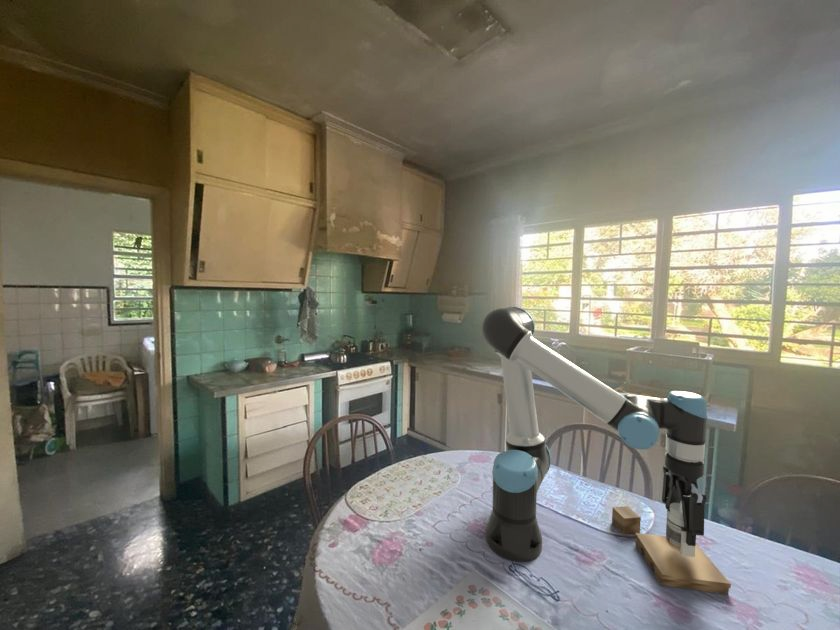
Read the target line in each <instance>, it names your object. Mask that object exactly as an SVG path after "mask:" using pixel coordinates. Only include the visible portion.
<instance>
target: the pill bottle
mask: <svg viewBox="0 0 840 630" xmlns="http://www.w3.org/2000/svg"><path fill="white" fill-rule="evenodd" d="M666 523H667V526H666V525H665V528H666V529H665V536H666V541H667V543H668V544H669V546H671V547H672V548H673V549H675V550H677V551H679V552H680V549H681V527H682V528H684V521H683V512H682V503H681V502H680V503H671V504H670V512H668V514H667V513H666Z"/></svg>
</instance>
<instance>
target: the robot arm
mask: <svg viewBox="0 0 840 630" xmlns="http://www.w3.org/2000/svg"><path fill="white" fill-rule="evenodd" d="M535 327H536V326H535V319H534V318H533V316H532V314H530V312H528V311H527V310H526V309H524V308H520V307H517V306H508V307H504V308H496V309H493V310H491V311H490V312H488V313H487V314H486V315H485V317H484V318H483V321H482V324H481V334H482V336H483V339H484V341H485V342H486V344H488V345H489V346H490V347H491V348H492V349H493V350H494V353H495V354H497V356H499V357H500V361H501V369H502V371H501V372H502V379H503V386H504V392H505V393H504V394H505V402H506V403H505V405H506V409H507V410H506V411H507V420H508V427H509V433H508V434H507V435H506V436H505V443H506V451H505V450H504V451H500V452H499V453H498V454H497V455H496V456H495V458H494V460H493V465H492V510H491V512H490V515H489V518H488V520H487V523H486V526H485V540H486V543H487V545H488V547H489V548H490V549H491V550H492V551H493V552H494V553H495V554H497V555H498V556H500V557H501V558H505V559H506V560H510V561H513V562H529V561H533V560H535V559H536V558H538V557H539V556H540V555H541V553H542V550H543V536H542V533H541V530H540V526H539V523H538V520H537V494H538V491H539V489H540V487H541V485H542V483H543V481H544V479H545V478H546V475H547V474H548V472H549V471H550V470H549V469H550V467H551V463H552V462H551V460H552V457H551V452H550V449H549V447H548V445H547V444H546V439H545V436H544V435H543V434H542V433H541V432H540V430H539V424H538V416H537V408H536V400H535V391H534V390H535V389H534V383H533V375H532V373H534V374H535V375H537V377H539V378H541V379H543V380H544V381H545V382H547V383H548V384H549V385H551V386H552V387H554V388H555V389H556V390H558V391H560V392H561V393H562V394H563V395H565V396H567V397H568V398H569V399H571V400H573V402H575V403H577V404H578V405H579V406H581V407H582V408H584V409H585V410H587V411H588V412H589V413H591V414H592V415H594V416H595V417H596V418H598V419H599V420H601V421H603V422H604V424H607V425H608V426H609V427H610V428H611V429H613V430H614V431H616V432H617V433H618V435H619V437H620V439H621V440H622V442H623V443H625V444H626V445H627V446H628V447H630V448H632V449H635V450H640V451H641V450H643V451H644V450H648V449H650V448H653V447H654V446H655V445H656V444H657V443H658V440H659V435H660V429H661V430H666V433H665V448H664V449H665V451H666V452H665V456H664V466H662V470H663V472H662V473H663V480H662V491H661V492H662V493H661V501H662V503H663V504H665V505H664V506H665V509H666V515H667V514H668V512H670V504H671V503H680V504H682V512H683V521H684V528H682V527H681V549H680V553H681V555H682V556H690V557H695V545H696V544H697V542H696V541H697V536H704V535H705V505H706V502H707V496H706V494H704V493H701V492H700V491H699V490H698V489H699V486H698V479H701V478H702V477H703V476H704V471H705V461H704V459H705V451H706V450H705V449H706V446H707V445H706V437H707V436H706V434H707V433H706V431H707V420H708V414H707V413H708V412H707V411H708V409H707V407H708V405H707V400H706V399H705V397H703V396H702V395H701V394H698V393H695V392H690V391H685V390H684V391H683V390H672V391H670V392H668V395H667V397H665V398H664V397H663V398H662V397H654V396H648V395H647V396H646V395H640V394H636V393H635V394H634V393H630V392H625V393H624V392H617V391H616V390H615V389H613V388H611V387H610V386H608V385H606V384H605V383H603V382H602V381H600V380H599V379H597V378H596V377H594V376H593V375H591V374H590V373H589V372H587V371H585V370H584V369H582V368H580V367H579V366H577V364H575V363H573V362H572V361H570V360H568V359H567V358H565V357H563V355H561V354H559V353H558V352H556V351H555V350H553V349H551V348H550V347H548V346H547V345H545V344H544V343H542V342H541V341H539V340H538V339H536V338H534V336H533V335H534V333H535ZM665 523H666V525H665V527H666V526H667V522H665Z"/></svg>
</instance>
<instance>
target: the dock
mask: <svg viewBox="0 0 840 630" xmlns="http://www.w3.org/2000/svg"><path fill="white" fill-rule="evenodd" d="M634 535H635V546H636V547H637V549H638V551H639V552H640V553H641V554H644V560H645V561H646V563H647V565H648V567H649V568H650V569H654V570H653V571H654V572H653V576H655V578H656V580H657V581H658V583H659V585H660V586H667V587H674V588H681V589H688V590H695V591H701V592H702V591H703V592H709V593H717V594H723V595H729V591H730V589H731V588H732V587H731V585H732V584H731V583H730V581H729V580H728V578H726V576H724V574H723V573H722V572H721V571H720V569H719V568H718V567H717V566H716V565H715V564H714V563H713V561H712V560H711V559H710V558H709V557H708V556H707V554H706V553H705V552H704V551H703V550H702V549H701V547H700V546H699V544H697V543H696V545H695V557H690V556H682V555H681V553H680V552H679V551H677V550H675V549H673V548H672V547H671V546H669V544H668V543H667V541H666V535H657V534H648V533H641V532H640V533H635V534H634Z"/></svg>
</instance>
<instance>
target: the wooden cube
mask: <svg viewBox="0 0 840 630" xmlns="http://www.w3.org/2000/svg"><path fill="white" fill-rule="evenodd" d="M611 510H612V512H611V513H612V516H611V524H612V525H613V526H614V527H615V528H616V529H617V530H619V532H620V533H621V534H622V535H623V536H626V535H628V534H629V535H635V533H641V519H642V518H641V516H640V515H639V514H638V513H636V512H635V510H633V509H632V508H631V507H630V506H627V505H625V506H624V505H623V506H613V507H612V509H611Z"/></svg>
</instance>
